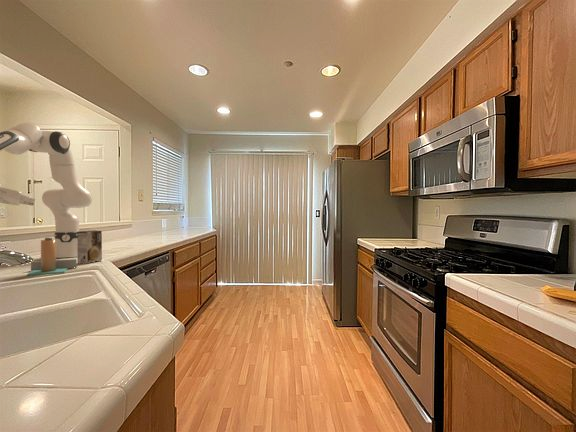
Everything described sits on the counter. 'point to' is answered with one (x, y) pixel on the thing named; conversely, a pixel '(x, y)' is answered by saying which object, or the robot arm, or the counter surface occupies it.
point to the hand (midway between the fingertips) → (34, 202)
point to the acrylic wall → (59, 264)
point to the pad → (38, 272)
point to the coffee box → (89, 246)
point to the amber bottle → (48, 255)
